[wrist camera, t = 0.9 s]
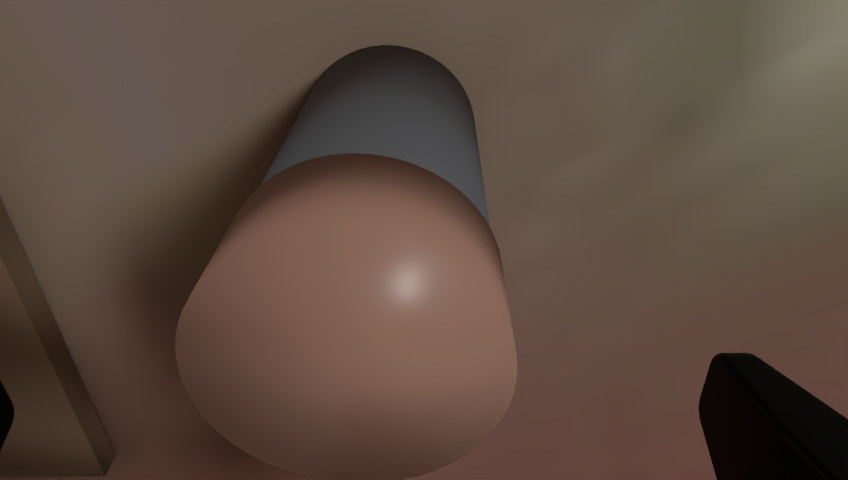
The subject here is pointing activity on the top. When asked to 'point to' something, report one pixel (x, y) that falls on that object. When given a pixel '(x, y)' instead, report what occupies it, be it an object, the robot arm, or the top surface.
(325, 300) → the pink and grey capsule
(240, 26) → the top surface
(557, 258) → the top surface
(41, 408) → the drawing board
